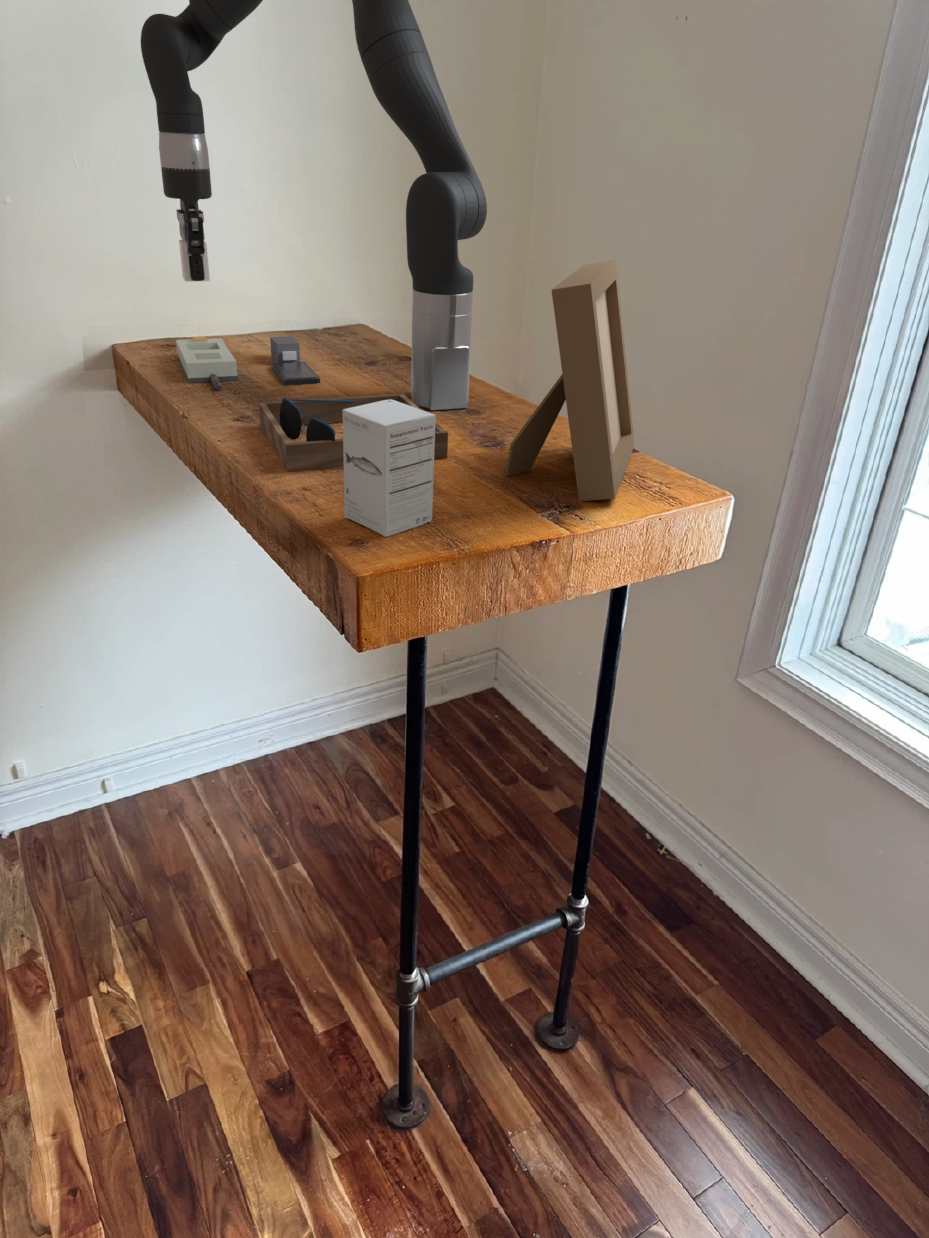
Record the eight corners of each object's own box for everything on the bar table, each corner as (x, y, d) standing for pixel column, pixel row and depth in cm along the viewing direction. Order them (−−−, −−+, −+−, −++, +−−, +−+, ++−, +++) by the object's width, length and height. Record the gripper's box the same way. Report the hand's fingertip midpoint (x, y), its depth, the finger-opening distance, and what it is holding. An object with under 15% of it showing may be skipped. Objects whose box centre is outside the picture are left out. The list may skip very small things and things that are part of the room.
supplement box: (342, 518, 100) (339, 408, 94) (392, 503, 105) (392, 397, 99) (384, 539, 96) (384, 425, 89) (434, 522, 100) (437, 412, 94)
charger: (209, 281, 150) (206, 242, 147) (185, 281, 148) (181, 242, 145) (206, 277, 153) (203, 239, 150) (182, 277, 152) (178, 239, 149)
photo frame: (633, 451, 125) (660, 263, 113) (613, 506, 107) (642, 288, 95) (531, 438, 128) (546, 254, 116) (494, 489, 110) (508, 276, 98)
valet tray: (447, 458, 119) (448, 432, 118) (287, 472, 112) (286, 445, 110) (402, 416, 135) (403, 393, 133) (260, 426, 128) (258, 402, 126)
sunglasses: (276, 429, 126) (278, 394, 124) (366, 429, 134) (370, 396, 132) (329, 467, 114) (332, 429, 112) (425, 464, 122) (430, 428, 120)
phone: (320, 385, 150) (319, 377, 149) (284, 387, 148) (284, 379, 147) (304, 368, 160) (304, 361, 159) (271, 370, 158) (270, 362, 157)
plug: (301, 367, 160) (300, 344, 158) (279, 368, 158) (278, 345, 156) (292, 358, 165) (291, 336, 163) (271, 359, 164) (270, 337, 162)
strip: (243, 389, 144) (241, 366, 143) (193, 392, 142) (190, 368, 140) (222, 356, 164) (220, 335, 162) (177, 358, 161) (175, 336, 159)
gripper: (215, 169, 138) (224, 285, 146) (203, 163, 149) (213, 271, 158) (164, 167, 135) (177, 285, 144) (157, 162, 147) (169, 272, 155)
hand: (196, 277), depth 151 cm, fingers closed on charger, 4 cm apart
